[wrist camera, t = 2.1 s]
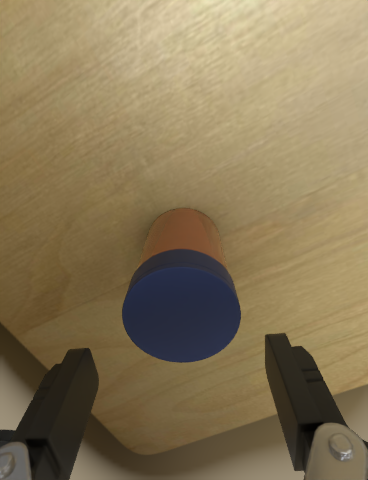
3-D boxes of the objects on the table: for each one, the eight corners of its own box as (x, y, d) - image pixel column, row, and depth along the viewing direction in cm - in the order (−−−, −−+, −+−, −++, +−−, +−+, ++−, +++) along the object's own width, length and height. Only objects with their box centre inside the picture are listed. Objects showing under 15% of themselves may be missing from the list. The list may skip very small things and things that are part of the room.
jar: (221, 270, 24) (238, 350, 16) (153, 276, 24) (136, 358, 16) (217, 204, 21) (234, 258, 14) (141, 211, 22) (116, 269, 14)
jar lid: (237, 334, 17) (242, 360, 15) (138, 342, 18) (133, 367, 16) (233, 243, 15) (239, 261, 13) (119, 253, 15) (110, 272, 13)
